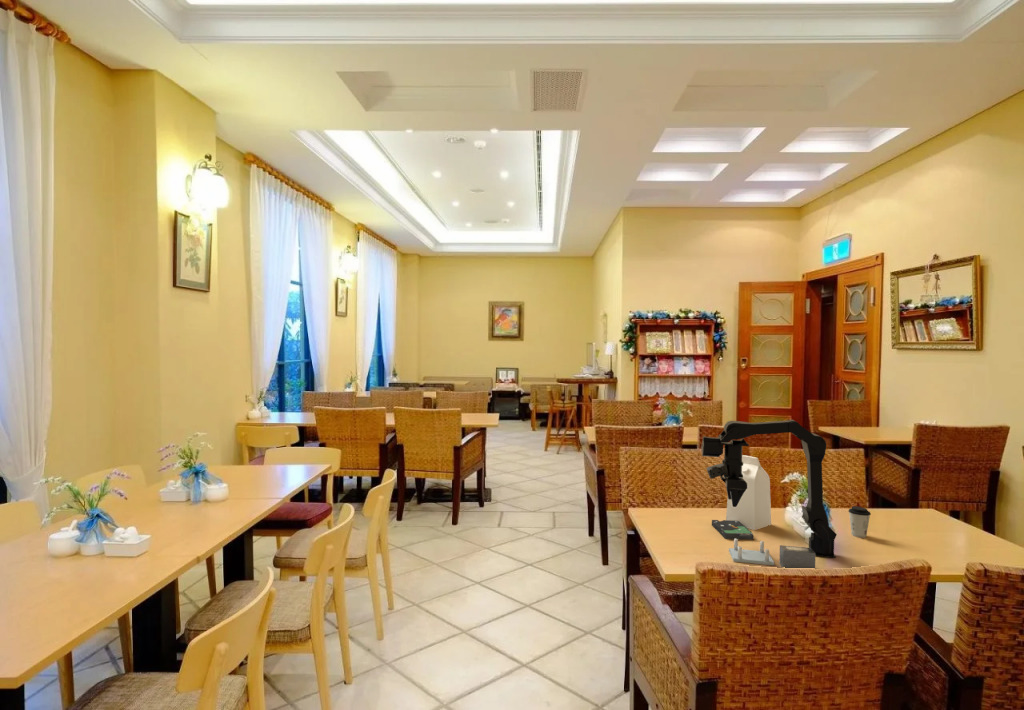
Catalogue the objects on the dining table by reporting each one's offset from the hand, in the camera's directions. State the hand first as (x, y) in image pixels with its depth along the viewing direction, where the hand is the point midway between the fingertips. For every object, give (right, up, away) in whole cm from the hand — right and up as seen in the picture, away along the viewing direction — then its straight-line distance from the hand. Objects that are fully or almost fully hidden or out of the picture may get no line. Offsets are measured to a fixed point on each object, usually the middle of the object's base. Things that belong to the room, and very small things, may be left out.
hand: (732, 502), depth 185 cm
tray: (+2, -15, -11) cm, 19 cm away
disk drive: (+5, -15, +13) cm, 21 cm away
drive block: (+13, -15, -18) cm, 27 cm away
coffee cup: (+51, -15, +12) cm, 55 cm away
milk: (+16, -15, +24) cm, 33 cm away
